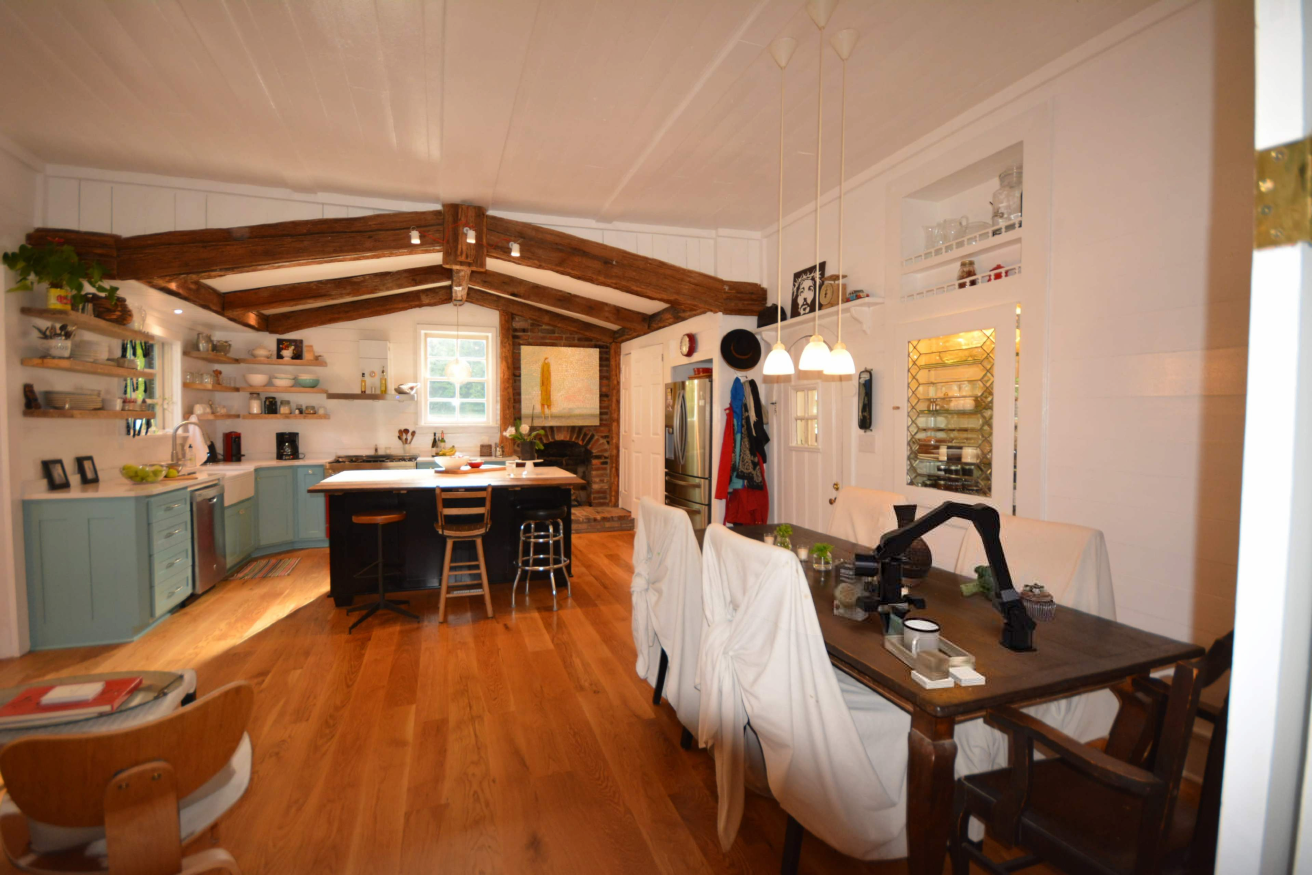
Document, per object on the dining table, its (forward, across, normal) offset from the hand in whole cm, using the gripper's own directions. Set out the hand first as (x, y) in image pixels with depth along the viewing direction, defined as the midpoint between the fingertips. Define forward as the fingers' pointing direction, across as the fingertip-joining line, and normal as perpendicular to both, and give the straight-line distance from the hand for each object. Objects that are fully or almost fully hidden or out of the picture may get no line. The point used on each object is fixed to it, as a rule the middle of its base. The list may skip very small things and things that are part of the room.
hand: (890, 632), depth 165 cm
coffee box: (+2, +2, -18) cm, 19 cm away
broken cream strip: (+2, 0, +26) cm, 27 cm away
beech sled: (+1, -2, +10) cm, 11 cm away
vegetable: (+2, -50, -27) cm, 57 cm away
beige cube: (0, +5, +26) cm, 27 cm away
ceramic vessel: (+2, -34, -46) cm, 58 cm away
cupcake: (+2, -55, -8) cm, 55 cm away
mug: (+2, 0, +14) cm, 15 cm away
